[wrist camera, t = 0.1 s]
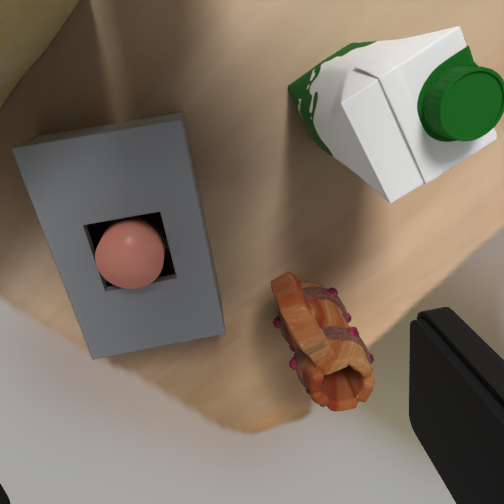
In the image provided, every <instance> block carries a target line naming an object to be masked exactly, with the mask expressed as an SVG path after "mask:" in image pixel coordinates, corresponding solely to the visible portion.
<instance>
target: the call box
mask: <svg viewBox="0 0 504 504" xmlns="http://www.w3.org/2000/svg"><path fill="white" fill-rule="evenodd" d="M12 152H13V154H14V157H15V160H16V162H17V165H18V167H19V170H20V173H21V175H22V178H23V180H24V183H25V186H26V188H27V191H28V193H29V196H30V199H31V201H32V204H33V206H34V209H35V212H36V214H37V217H38V219H39V222H40V225H41V227H42V230H43V232H44V235H45V238H46V240H47V243H48V245H49V248H50V250H51V253H52V256H53V258H54V261H55V263H56V266H57V269H58V271H59V274H60V276H61V279H62V282H63V284H64V287H65V289H66V292H67V295H68V297H69V300H70V302H71V305H72V308H73V310H74V313H75V315H76V318H77V321H78V323H79V326H80V328H81V331H82V334H83V336H84V339H85V341H86V344H87V346H88V349H89V352H90V354H91V357H92V359H98V358H103V357H108V356H114V355H119V354H124V353H129V352H134V351H139V350H145V349H150V348H155V347H160V346H165V345H170V344H176V343H181V342H186V341H191V340H196V339H201V338H207V337H212V336H217V335H222V334H225V326H224V317H223V309H222V302H221V297H220V292H219V287H218V282H217V277H216V273H215V268H214V263H213V258H212V253H211V248H210V243H209V239H208V234H207V229H206V224H205V219H204V214H203V209H202V205H201V200H200V195H199V190H198V185H197V180H196V175H195V171H194V166H193V161H192V156H191V151H190V146H189V141H188V137H187V132H186V127H185V122H184V117H183V112H179V113H173V114H167V115H161V116H155V117H149V118H143V119H137V120H131V121H125V122H119V123H113V124H107V125H101V126H95V127H89V128H83V129H77V130H71V131H65V132H59V133H53V134H47V135H41V136H35V137H33V138H31V139H29V140H27V141H25V142H23V143H21V144H19V145H17V146H15V147H13V148H12ZM154 212H160V213H161V217H162V221H163V225H164V229H165V233H166V237H167V241H168V245H169V249H170V253H171V257H172V261H173V265H174V269H175V273H176V274H173V275H168V276H162V277H157V278H156V279H155V280H154V281H153V282H152V283H150V284H148V285H146V286H144V287H141V288H136V289H127V288H121V287H118V286H115V285H114V286H108V287H107V285H106V282H105V279H104V277H103V276H102V275H101V274H100V272H99V270H98V268H97V266H96V262H95V249H94V246H93V243H92V240H91V237H90V234H89V231H88V228H87V224H92V223H98V222H104V221H109V220H115V219H121V218H126V217H132V216H137V215H143V214H149V213H154Z"/></svg>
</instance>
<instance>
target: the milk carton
mask: <svg viewBox="0 0 504 504" xmlns="http://www.w3.org/2000/svg"><path fill="white" fill-rule="evenodd" d="M288 87H289V90H290V92H291V94H292V97H293V99H294V101H295V104H296V106H297V108H298V111H299V113H300V115H301V117H302V119H303V121H304V123H305V125H306V126H307V128H308V130H309V132H310V134H311V135H312V137H313V139H314V141H315V143H316V144H317V145H318V146H319V147H320V148H322V149H323V150H324V151H326V152H327V153H329V154H330V155H331V156H333V157H334V158H335V159H337V160H338V161H340V162H341V163H342V164H344V165H345V166H346V167H348V168H349V169H351V170H352V171H353V172H354V173H356V174H357V175H358V176H359V177H360V178H361V179H363V180H364V181H365V182H366V183H367V184H369V185H370V186H371V187H372V188H373V189H374V190H376V191H377V192H378V193H379V194H380V195H381V196H383V197H384V198H385V199H386V200H387V201H388V202H389V203H393V202H394V201H396V200H397V199H399V198H401V197H402V196H404V195H406V194H407V193H409V192H411V191H412V190H414V189H415V188H417V187H419V186H420V185H422V184H427V183H429V182H431V181H433V180H434V179H436V178H438V177H439V176H440V175H441V174H442V173H444V172H446V171H447V170H449V169H451V168H452V167H454V166H455V165H457V164H459V163H460V162H462V161H463V160H465V159H466V158H468V157H470V156H471V155H473V154H474V153H476V152H478V151H479V150H481V149H482V148H484V147H486V146H487V145H489V144H490V143H492V142H493V141H495V140H496V139H497V135H496V132H495V129H494V127H495V125H496V124H497V123H498V121H499V120H500V118H501V116H502V114H503V112H504V81H503V79H502V78H501V76H500V75H499V74H498V73H497V72H495V71H494V70H492V69H489V68H484V67H479V66H478V65H477V64H476V63H475V62H474V61H473V58H472V54H471V51H470V48H469V46H467V47H466V44H465V41H464V38H463V34H462V31H461V29H460V27H459V26H458V27H454V28H449V29H445V30H441V31H436V32H432V33H427V34H423V35H418V36H414V37H409V38H404V39H398V40H386V41H375V42H363V43H351V44H349V45H347V46H346V47H344V48H343V49H341V50H339V51H338V52H336V53H335V54H333V55H332V56H330V57H328V58H327V59H325V60H324V61H322V62H321V63H319V64H318V65H316V66H315V67H314V68H312V69H311V70H310V71H308V72H307V73H305V74H304V75H303V76H301V77H300V78H299V79H297V80H296V81H294V82H293V83H292V84H290V85H289V86H288Z"/></svg>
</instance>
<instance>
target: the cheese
mask: <svg viewBox="0 0 504 504" xmlns="http://www.w3.org/2000/svg"><path fill="white" fill-rule="evenodd" d="M79 1H80V0H0V109H1V107H2V105H3V104H4V102H5V101H6V99H7V98H8V96H9V95H10V93H11V92H12V90H13V89H14V87H15V86H16V85H17V83H18V82H19V81H20V80H21V78H22V77H23V76H24V75H25V73H26V72H27V71H28V70H29V69H30V68H31V67H32V65H33V64H34V63H35V62H36V61H37V60H38V58H39V57H40V56H41V55H42V54H43V52H44V51H45V50H46V49H47V47H48V46H49V45H50V43H51V42H52V41H53V39H54V38H55V36H56V35H57V33H58V32H59V31H60V29H61V28H62V26H63V25H64V23H65V22H66V20H67V19H68V17H69V16H70V14H71V13H72V11H73V10H74V8H75V7H76V5H77V4H78V2H79Z"/></svg>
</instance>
